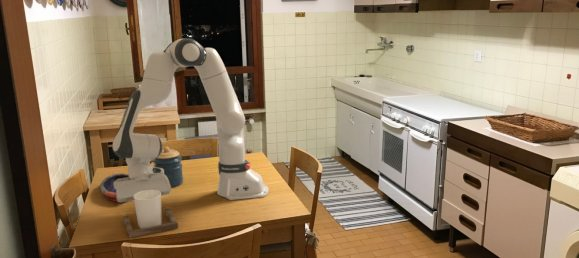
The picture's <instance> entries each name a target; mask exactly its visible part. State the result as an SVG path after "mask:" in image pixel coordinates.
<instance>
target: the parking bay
mask: <svg viewBox="0 0 579 258" xmlns="http://www.w3.org/2000/svg"><path fill="white" fill-rule="evenodd" d="M164 213H165V215H166V218H167V219H168V221H169V222H167V223H161V225H157V226H152V227H147V228H142V229H141V228H138V229H133V227H132V224H131V220H130V218H129V216H128V215H123V223H124V225H125V228H126V230H127V231H126V232H127V235H128V237H129V239H130V238H131V239H132V238H137V237H141V236H147V235H150V234H157V233H160V232H166V231H170V230H172V231H173V230H176V229H179V224H178V222H177V219H176V218H175V216H174V214H173V213H172V211H171V209H170V208H169V207H166V208H165V209H164Z"/></svg>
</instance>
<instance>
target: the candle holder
mask: <svg viewBox="0 0 579 258" xmlns="http://www.w3.org/2000/svg"><path fill="white" fill-rule="evenodd" d="M133 198H134V200H133V202H134V209H135V214H136V215H135V216H136V221H137V226H138V229H142V228H147V227H152V226H157V225H162V220H163V218H162V195H161V192H160V191H158V190H144V191H140V192H137V193H136V194H134V196H133Z"/></svg>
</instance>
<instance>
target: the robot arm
mask: <svg viewBox="0 0 579 258" xmlns="http://www.w3.org/2000/svg"><path fill="white" fill-rule="evenodd" d="M188 67H194V68H195V69H196V71H197V72H198V76H199V77H200V80H201V83H202V85H203V87H204V91H205V93H206V96H207V98H208V101H209V103H210V105H211V109H212V110H213V111H212V112H213V113H214V115H215V120H216V132H217V133H216V134H217V140H218V141H217V142H218V144H217V145H218V163H217V166H218V167H217V168H218V169H217V170H218V175H219V178H218V179H219V180H218V187H217V191H216V192H217V193H216V194H217V195H218V196H219V197H223V198H226V199H227V200H231V201H235V200H244V199H253V198H254V199H255V198H264V197H266V196H268V194H269V186H268V185H267V184H266V183H264V181H263V177H262V175H260V173H258V172H256V171H254V170H253V169H252V168H251V162H250V160H247V159H246V153H245V151H246V150H245V139H244V138H245V137H244V127H245V125H246V117H245V113H244V111H243V109H242V107H241V104H240V101H239V100H238V96H237V94H236V91H235V89H234V87H233V85H232V81H231V79H230V76H229V74H228V71H227V68H226V66H225V64H224V62H223V60H222V58H221V56H220V54H219V53H218V51H217V50H216V49H215V48H213V47H204V46H202V44H200V43H199V42H198V41H196V40H195V39H193V38H187V37H186V38H179V39H177V40H174V41H171V43H169V44H168V46H167V47H166V48H165V49H164V50H163V51H155V52H152V53H150V55H149V56H148V59H147V62H146V65H145V68H144V72H143V78H142V81H141V84H140V85H139V87H138V89H137V90H134V91H132V93H131V94H130V97H129V99H128V102H127V103H126V107H125V109H124V113H123V116H122V119H121V122H120V124H119V127H118V130H117V132H116V134H115V136H114V138H113V141H112V146H111V147H112V151H113V153H114V154H115V156H117V157H118V158H120V159H121V160H123V159H125V162H126V164H127V174H129V177H127V178H122V179H117V180H116V181H117V182H116V181H115V182H114V188H115V189H116V197H117V201H116V202H118V203H124V202H129V201H130V202H131V201H134V198H133V196H134V194H136V193H137V192H140V191H144V190H158V191H160V192H161V196H165V195H166V196H167V195H170V194H171V191H172V188H171V186H170V183H169V180H168V178H167V176H166V175H164V169H163V168H156V167H154V166H152V165H151V162H153V160H154V159H156V158H157V157H158V156H159V155H160V154H161V153H162V150H163V143H162V140H161V138H160V137H159V136H158V135H156V134H150V133H149V134H148V133H137V132H134V128H135V126H136V123H137V120H138V117H139V114H140V112H141V111H142V110H143V109H144V108H147V107H149V106H153V105H157V104H160V103H162V102H164V101H166V100H167V99H168V98H169V97H170V95H171V92H172V87H173V83H174V82H173V81H174V75H175V72H176V70H177V69H178V68H188Z"/></svg>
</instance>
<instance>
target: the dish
mask: <svg viewBox="0 0 579 258" xmlns="http://www.w3.org/2000/svg"><path fill="white" fill-rule="evenodd" d="M127 177H129V174H128V173H114V174H111V175H108V176H107V177H105V178H104V179H102V181H101V183H100V185H99V190H100V192H101V194H102V195H103V197H104V198H105V199H107V200H109V201H113V202H118V201H117V197H116V189H115V188H114V182H115V181H116V180H117V179H122V178H127ZM116 182H117V181H116Z"/></svg>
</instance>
